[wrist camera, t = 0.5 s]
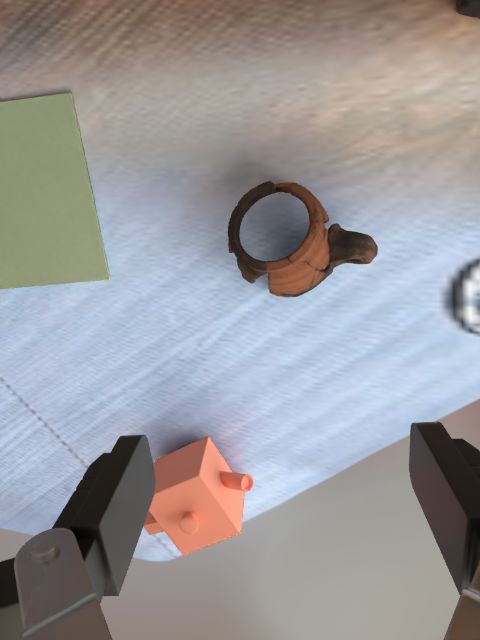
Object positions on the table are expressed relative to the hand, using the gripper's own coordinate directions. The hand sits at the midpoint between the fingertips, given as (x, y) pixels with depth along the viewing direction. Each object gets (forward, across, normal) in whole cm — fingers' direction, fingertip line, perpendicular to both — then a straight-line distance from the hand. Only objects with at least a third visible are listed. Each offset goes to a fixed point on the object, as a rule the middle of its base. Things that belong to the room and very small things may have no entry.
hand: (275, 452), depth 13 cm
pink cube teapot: (+27, +9, +22) cm, 37 cm away
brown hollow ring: (+28, -2, -2) cm, 28 cm away
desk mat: (+28, +26, -8) cm, 38 cm away
